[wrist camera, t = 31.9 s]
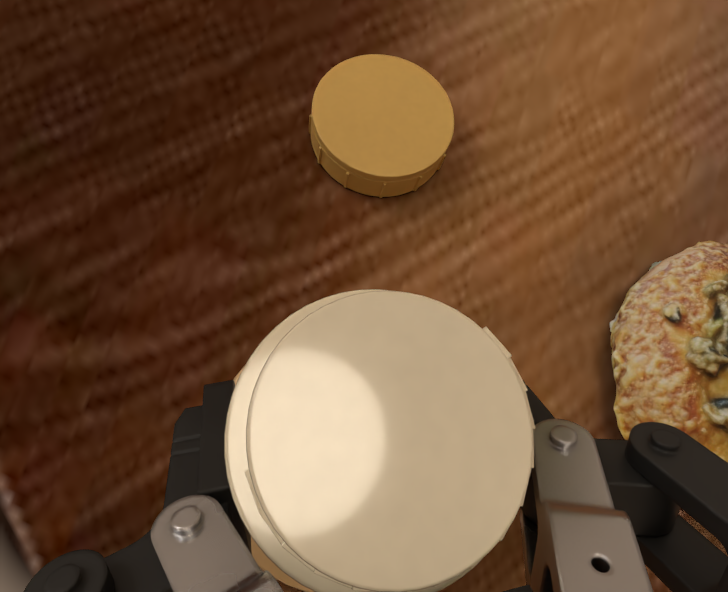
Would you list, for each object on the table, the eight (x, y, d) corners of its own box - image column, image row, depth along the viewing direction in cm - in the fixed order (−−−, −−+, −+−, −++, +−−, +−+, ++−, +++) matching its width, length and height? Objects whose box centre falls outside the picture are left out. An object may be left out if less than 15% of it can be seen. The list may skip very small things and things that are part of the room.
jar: (324, 575, 16) (365, 734, 7) (223, 430, 17) (137, 394, 8) (453, 459, 18) (631, 458, 8) (354, 333, 19) (416, 205, 9)
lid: (419, 73, 24) (428, 45, 22) (461, 183, 22) (474, 162, 21) (295, 91, 23) (295, 64, 21) (330, 209, 21) (333, 189, 19)
